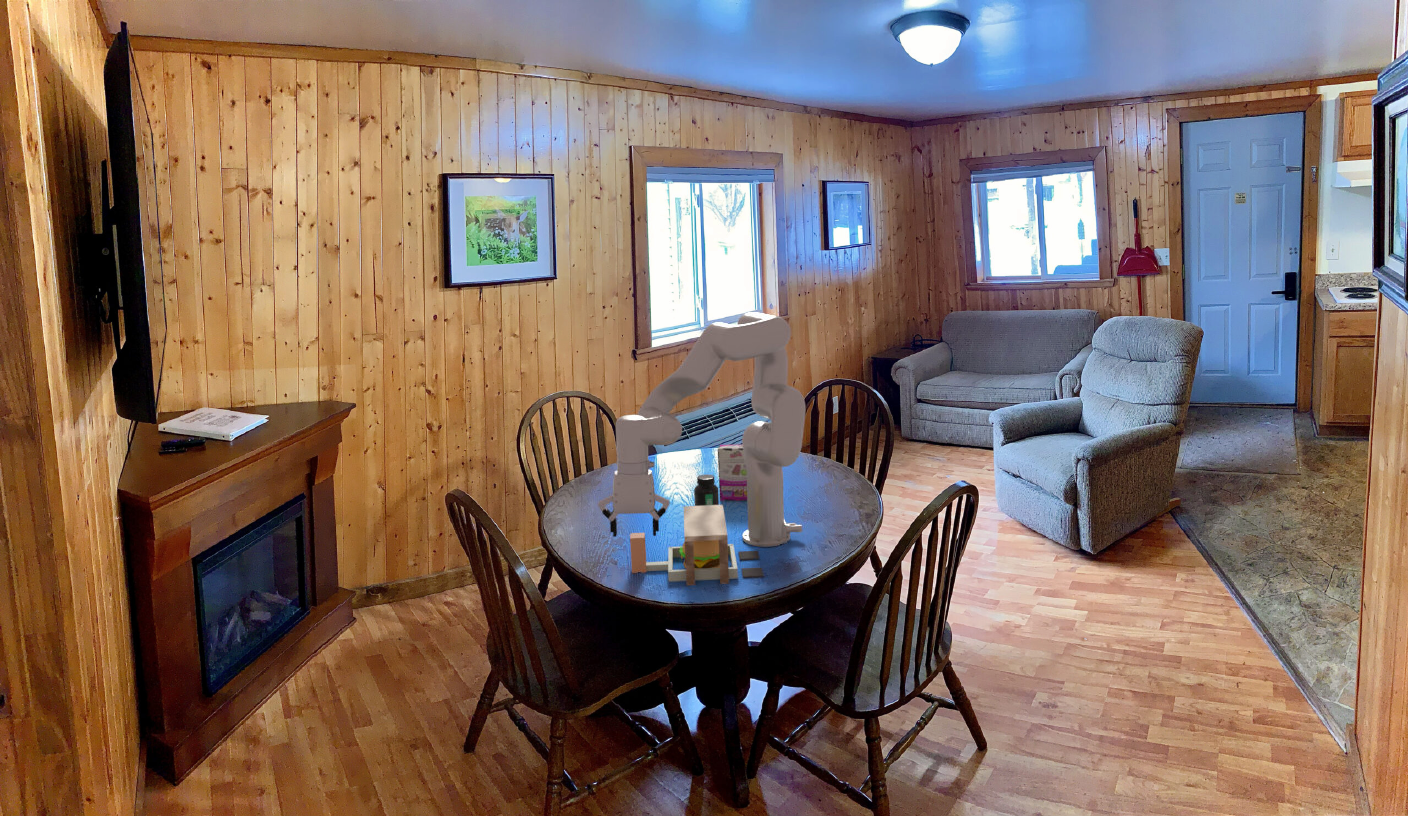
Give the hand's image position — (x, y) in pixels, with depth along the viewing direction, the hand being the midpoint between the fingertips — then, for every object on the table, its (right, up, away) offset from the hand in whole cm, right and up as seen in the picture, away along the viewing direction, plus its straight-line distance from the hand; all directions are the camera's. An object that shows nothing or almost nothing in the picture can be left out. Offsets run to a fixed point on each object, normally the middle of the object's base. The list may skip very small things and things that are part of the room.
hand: (634, 534), depth 229 cm
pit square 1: (+28, -7, +8) cm, 30 cm away
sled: (+12, -9, +3) cm, 15 cm away
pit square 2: (+29, -9, -2) cm, 30 cm away
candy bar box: (+27, +3, +53) cm, 60 cm away
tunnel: (+17, -8, +3) cm, 20 cm away
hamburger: (+17, -9, +3) cm, 19 cm away
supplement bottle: (+18, 0, +38) cm, 42 cm away
